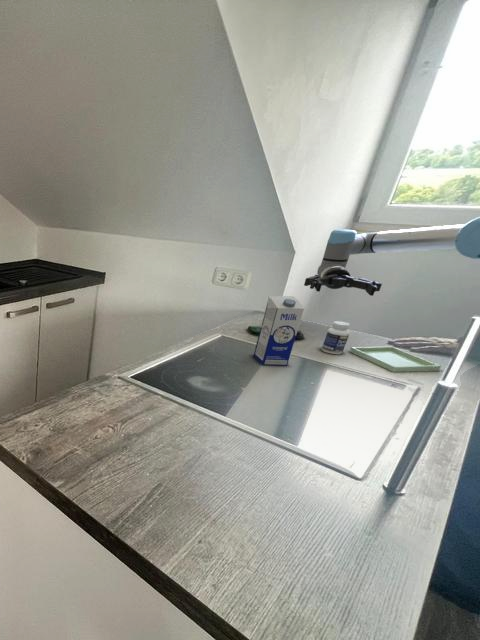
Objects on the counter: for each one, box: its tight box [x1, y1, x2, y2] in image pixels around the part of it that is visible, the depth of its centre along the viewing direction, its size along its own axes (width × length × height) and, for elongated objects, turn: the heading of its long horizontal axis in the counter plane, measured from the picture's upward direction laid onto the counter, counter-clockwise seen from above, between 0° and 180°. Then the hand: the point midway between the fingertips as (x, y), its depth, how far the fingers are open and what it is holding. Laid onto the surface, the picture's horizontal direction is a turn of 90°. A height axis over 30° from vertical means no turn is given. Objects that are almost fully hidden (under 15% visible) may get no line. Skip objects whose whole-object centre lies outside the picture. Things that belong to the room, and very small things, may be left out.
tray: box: [349, 345, 442, 373], centre depth 119 cm, size 15×13×2 cm
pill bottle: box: [321, 320, 350, 355], centre depth 124 cm, size 5×5×10 cm
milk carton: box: [253, 295, 305, 366], centre depth 117 cm, size 7×7×20 cm
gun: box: [247, 325, 305, 341], centre depth 141 cm, size 16×2×10 cm
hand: (345, 289), depth 126 cm, fingers open, 13 cm apart
